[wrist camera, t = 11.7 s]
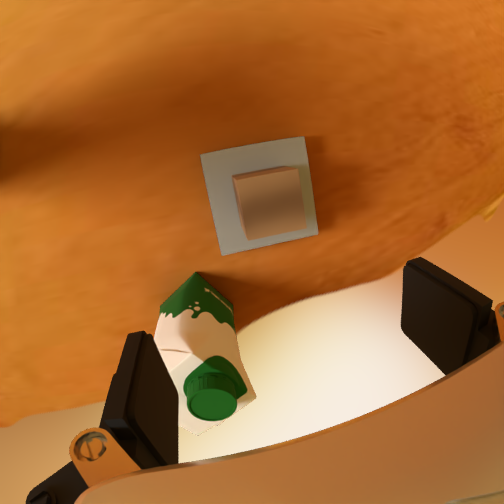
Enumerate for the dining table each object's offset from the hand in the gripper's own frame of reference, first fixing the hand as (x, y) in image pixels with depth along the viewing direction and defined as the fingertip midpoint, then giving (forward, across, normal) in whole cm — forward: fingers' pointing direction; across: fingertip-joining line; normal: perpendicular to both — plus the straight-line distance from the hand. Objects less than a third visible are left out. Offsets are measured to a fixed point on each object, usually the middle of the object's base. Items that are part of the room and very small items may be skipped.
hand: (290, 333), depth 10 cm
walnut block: (+26, -4, 0) cm, 26 cm away
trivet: (+28, -4, 0) cm, 29 cm away
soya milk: (+29, +7, +13) cm, 32 cm away
